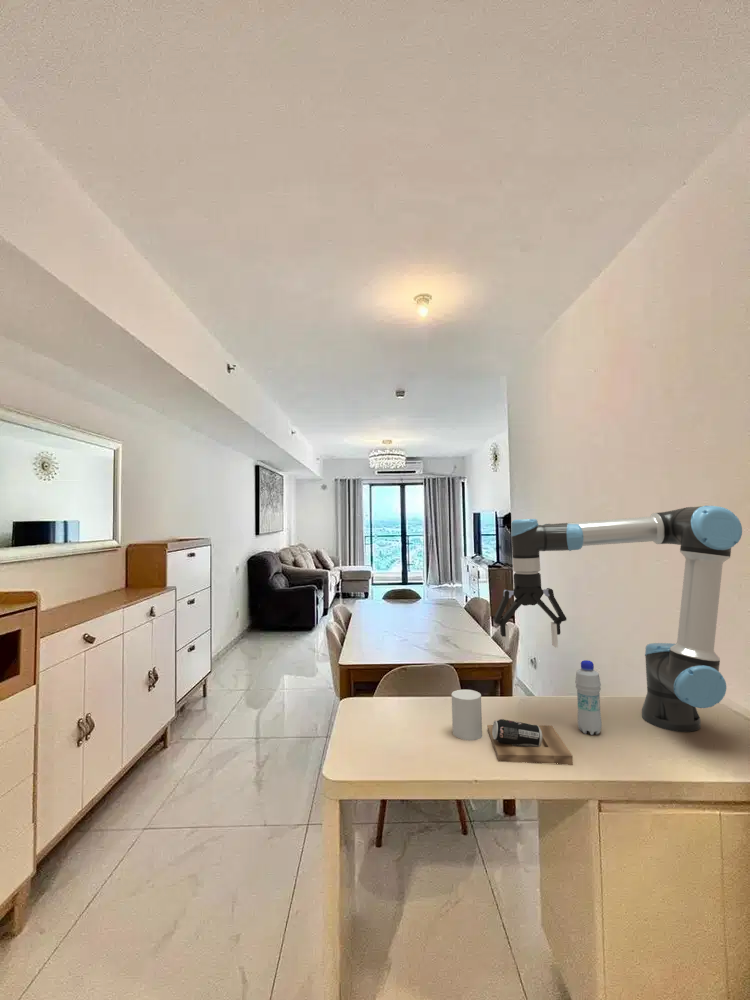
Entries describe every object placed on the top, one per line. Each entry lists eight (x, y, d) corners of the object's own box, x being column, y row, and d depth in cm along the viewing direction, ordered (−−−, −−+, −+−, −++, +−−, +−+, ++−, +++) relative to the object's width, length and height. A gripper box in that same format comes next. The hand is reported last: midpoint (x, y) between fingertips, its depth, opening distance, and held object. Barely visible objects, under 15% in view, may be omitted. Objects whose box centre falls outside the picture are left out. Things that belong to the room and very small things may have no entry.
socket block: (552, 734, 139) (551, 725, 139) (572, 765, 121) (572, 755, 121) (487, 733, 140) (487, 724, 140) (498, 764, 122) (498, 754, 122)
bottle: (605, 737, 136) (602, 664, 137) (579, 736, 137) (576, 663, 138) (599, 727, 142) (596, 657, 143) (575, 726, 144) (572, 656, 145)
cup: (485, 734, 139) (483, 691, 140) (478, 746, 132) (477, 701, 133) (457, 730, 143) (456, 688, 143) (449, 741, 136) (448, 697, 136)
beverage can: (534, 736, 133) (490, 728, 133) (540, 720, 130) (495, 713, 131) (539, 754, 128) (493, 746, 128) (545, 739, 125) (498, 730, 126)
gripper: (565, 569, 145) (570, 642, 144) (481, 572, 146) (484, 645, 145) (575, 572, 138) (580, 648, 136) (485, 575, 138) (489, 651, 137)
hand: (531, 647), depth 141 cm, fingers open, 13 cm apart
